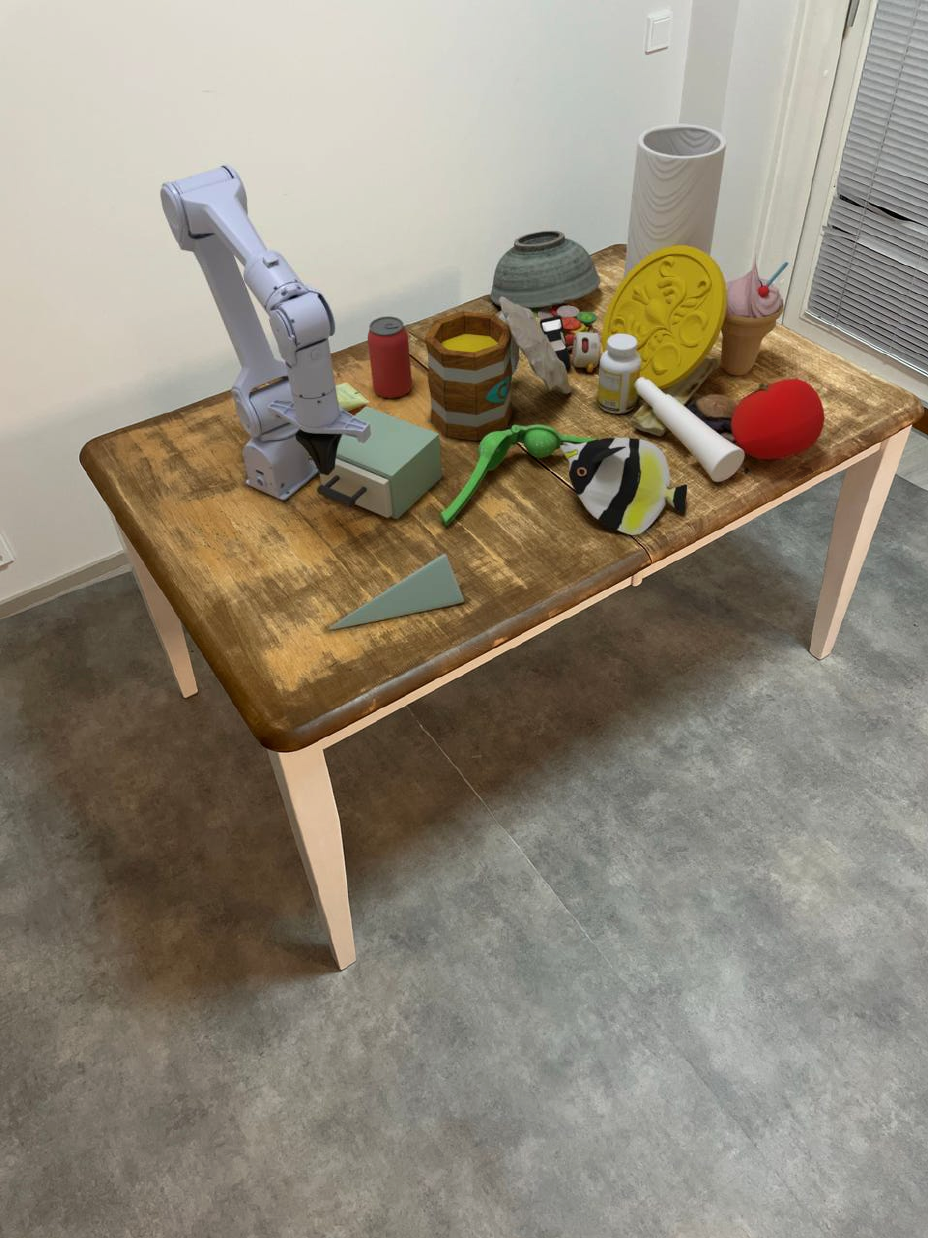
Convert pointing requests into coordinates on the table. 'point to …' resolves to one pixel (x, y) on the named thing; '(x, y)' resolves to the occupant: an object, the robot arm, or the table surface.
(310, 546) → the table surface
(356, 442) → the drawer cabinet
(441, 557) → the thin wedge-shaped triangle plate
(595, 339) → the roller toy
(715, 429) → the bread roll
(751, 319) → the ice cream cone
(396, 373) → the beer can
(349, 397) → the tube
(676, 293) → the decorative medallion
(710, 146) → the vase
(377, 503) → the cream drawer
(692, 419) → the cosmetic bottle
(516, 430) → the lime squeezer
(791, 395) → the tomato
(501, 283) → the bowl
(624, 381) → the pill bottle
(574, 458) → the fish
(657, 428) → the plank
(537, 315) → the toy food set
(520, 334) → the stone tool
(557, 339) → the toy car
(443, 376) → the mug
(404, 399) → the table surface
